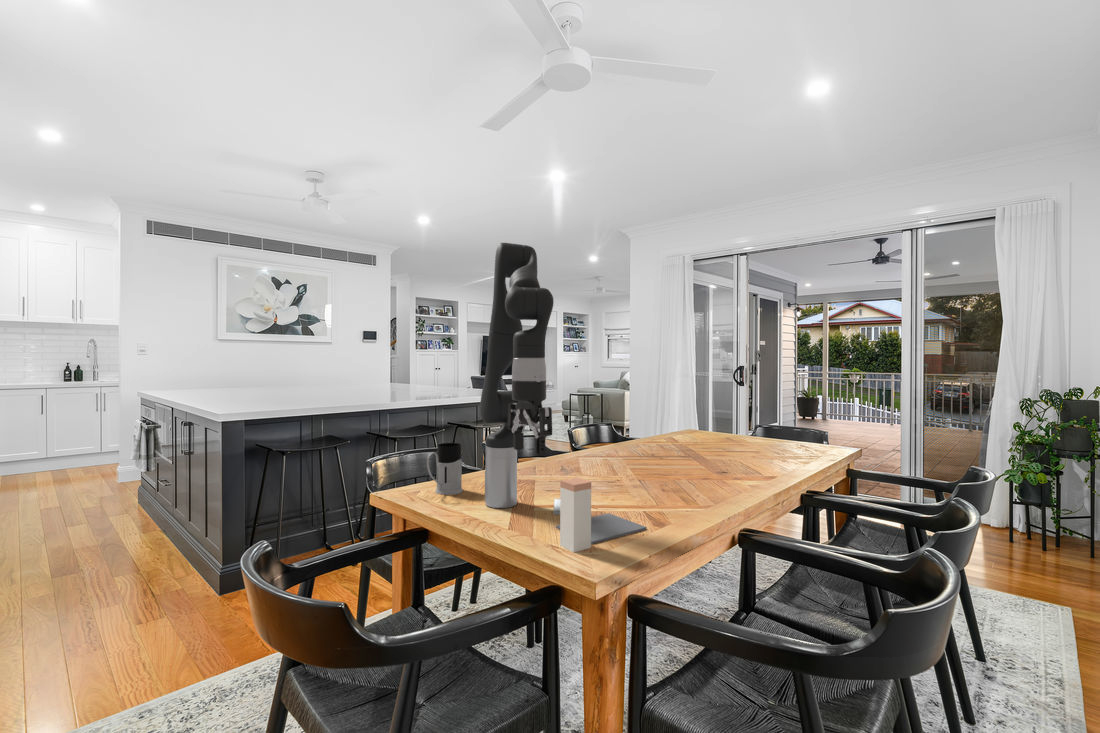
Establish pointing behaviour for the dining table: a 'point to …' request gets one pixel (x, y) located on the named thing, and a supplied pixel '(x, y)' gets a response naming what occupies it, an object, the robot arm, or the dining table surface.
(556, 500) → the hard drive
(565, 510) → the capped block
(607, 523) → the rubber mat
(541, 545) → the dining table surface
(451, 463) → the grey coffee pot
